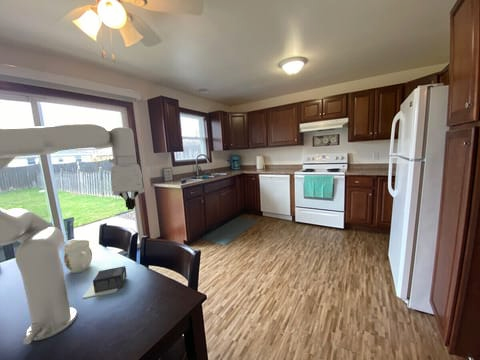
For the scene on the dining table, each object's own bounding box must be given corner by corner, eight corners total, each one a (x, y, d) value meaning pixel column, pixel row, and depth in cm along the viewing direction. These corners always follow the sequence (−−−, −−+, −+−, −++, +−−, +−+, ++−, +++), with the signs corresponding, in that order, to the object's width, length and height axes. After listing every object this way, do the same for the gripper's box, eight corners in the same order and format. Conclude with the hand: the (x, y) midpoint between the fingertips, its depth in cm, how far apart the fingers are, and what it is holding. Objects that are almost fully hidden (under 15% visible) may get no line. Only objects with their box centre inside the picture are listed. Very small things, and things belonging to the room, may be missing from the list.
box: (127, 277, 94) (100, 282, 91) (125, 265, 94) (99, 270, 91) (122, 287, 87) (94, 293, 84) (121, 275, 86) (92, 280, 83)
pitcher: (75, 280, 94) (70, 252, 93) (61, 270, 104) (56, 244, 103) (101, 269, 103) (97, 243, 102) (86, 260, 113) (82, 236, 112)
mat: (116, 292, 85) (115, 291, 85) (82, 298, 82) (82, 297, 82) (124, 275, 96) (124, 275, 96) (95, 281, 93) (95, 280, 93)
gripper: (98, 162, 71) (105, 213, 74) (145, 160, 75) (150, 209, 77) (106, 162, 79) (113, 208, 81) (148, 160, 82) (153, 204, 84)
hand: (131, 208), depth 79 cm, fingers closed
